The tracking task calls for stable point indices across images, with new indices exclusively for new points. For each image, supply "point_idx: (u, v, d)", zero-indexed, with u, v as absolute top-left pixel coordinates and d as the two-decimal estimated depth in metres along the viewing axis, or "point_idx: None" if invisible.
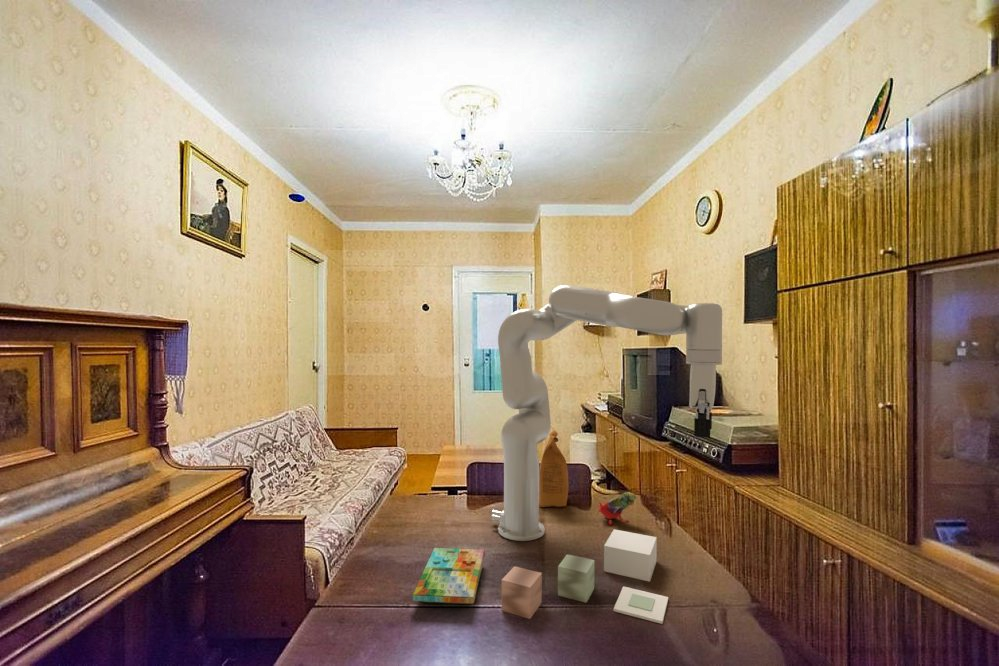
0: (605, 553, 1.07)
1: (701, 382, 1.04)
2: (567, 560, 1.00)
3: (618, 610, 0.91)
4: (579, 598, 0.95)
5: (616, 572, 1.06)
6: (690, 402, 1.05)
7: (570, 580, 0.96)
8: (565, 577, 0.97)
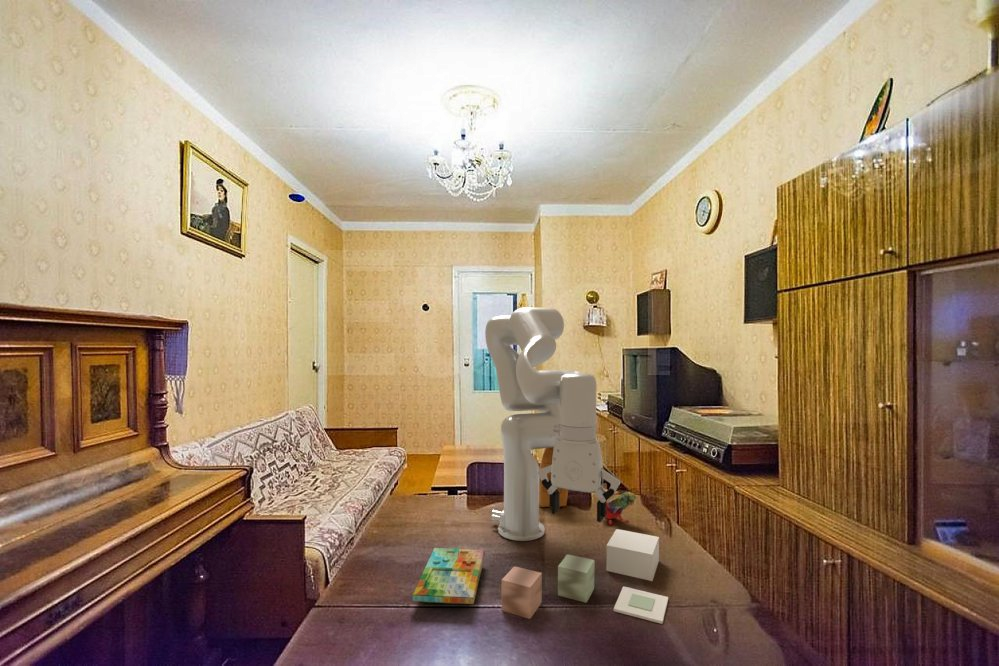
0: (608, 553, 1.07)
1: (601, 461, 0.96)
2: (567, 560, 1.00)
3: (618, 610, 0.91)
4: (579, 598, 0.95)
5: (619, 572, 1.06)
6: (597, 486, 0.94)
7: (570, 580, 0.96)
8: (565, 577, 0.97)
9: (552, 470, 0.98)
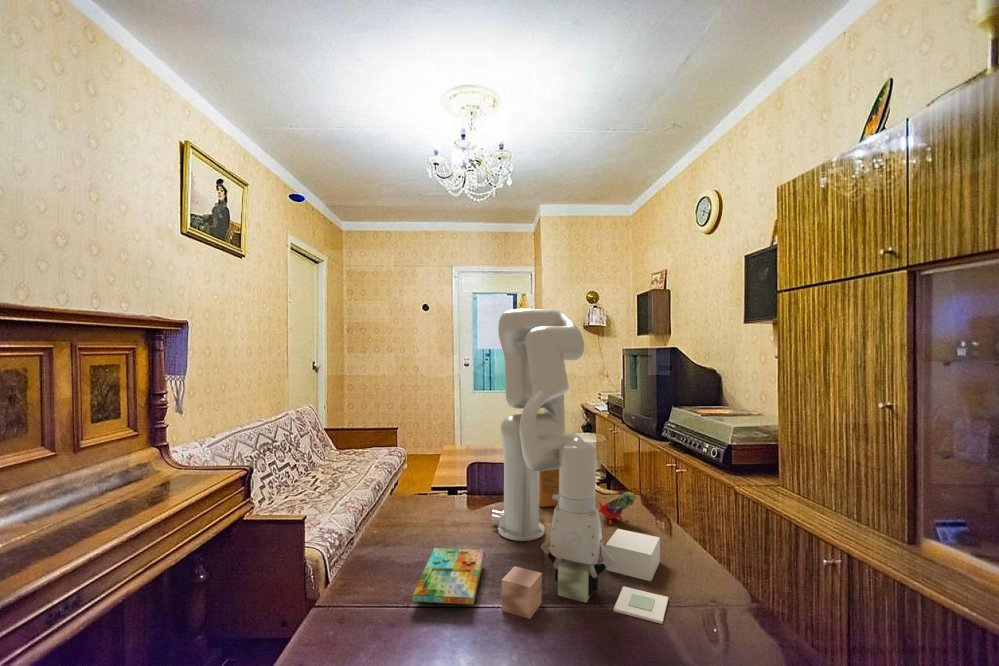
0: None
1: (600, 532, 0.96)
2: (567, 560, 1.00)
3: (618, 610, 0.91)
4: (579, 598, 0.95)
5: (618, 571, 1.06)
6: (596, 559, 0.94)
7: (570, 580, 0.96)
8: (565, 576, 0.97)
9: (551, 540, 0.98)
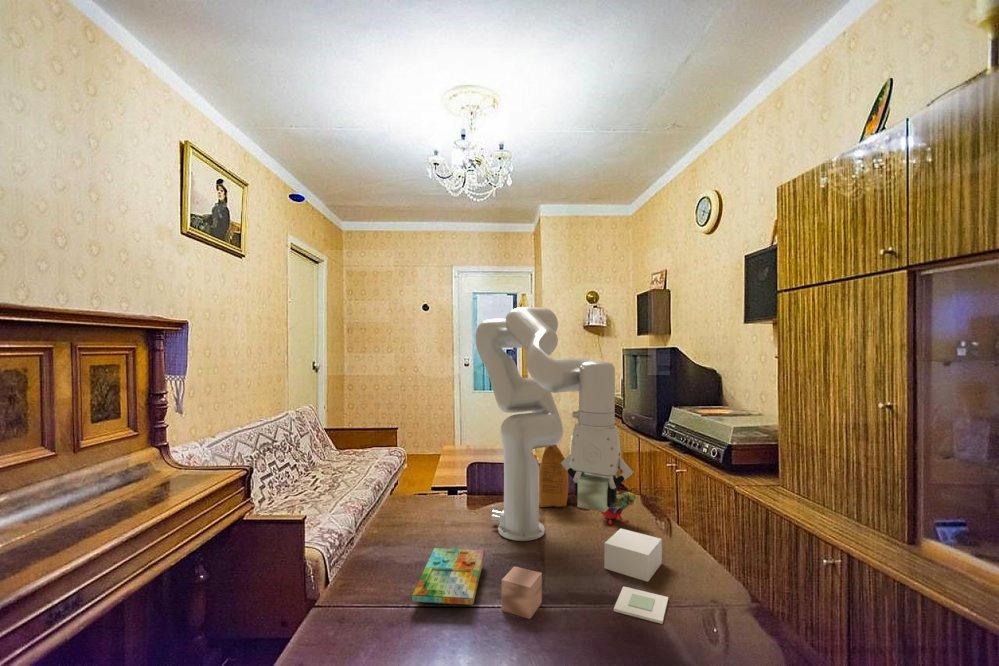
0: (605, 550, 1.08)
1: (618, 446, 1.00)
2: (587, 475, 1.03)
3: (618, 610, 0.91)
4: (598, 508, 0.99)
5: (616, 570, 1.07)
6: (615, 470, 0.98)
7: (589, 491, 1.00)
8: (584, 488, 1.00)
9: (571, 454, 1.02)
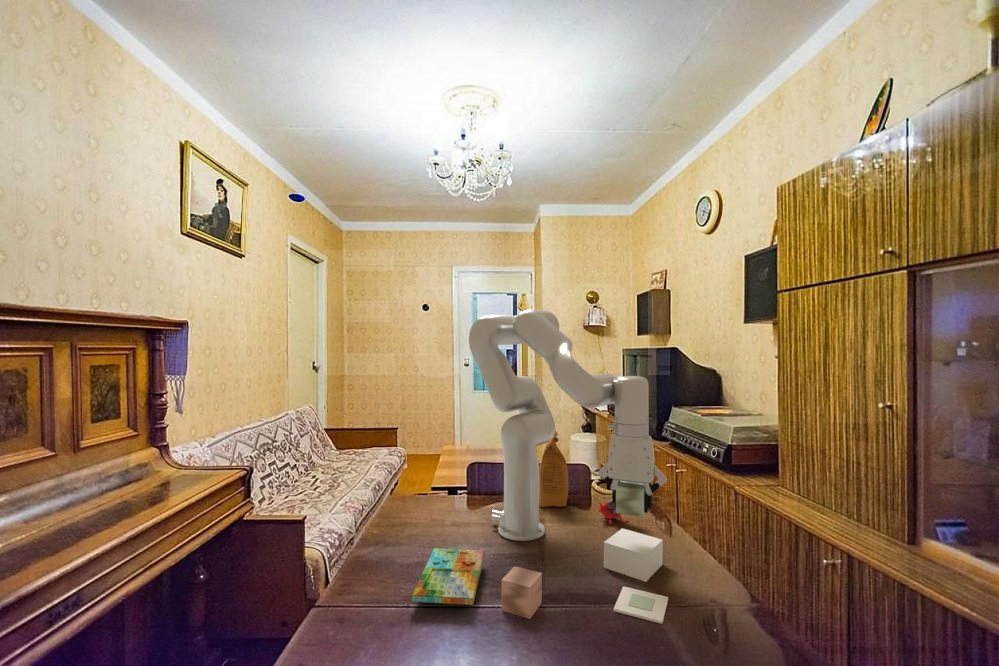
0: (605, 550, 1.09)
1: (653, 455, 1.07)
2: (623, 483, 1.10)
3: (618, 610, 0.91)
4: (636, 513, 1.06)
5: (615, 569, 1.07)
6: (651, 478, 1.05)
7: (627, 498, 1.07)
8: (622, 495, 1.07)
9: (609, 463, 1.09)
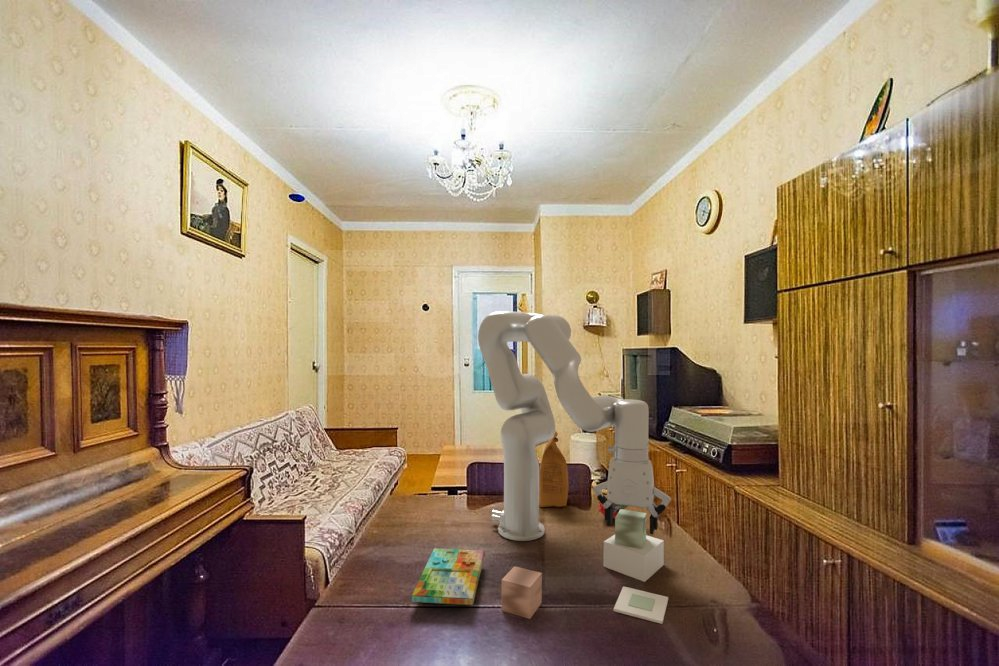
0: (604, 549, 1.09)
1: (653, 479, 1.07)
2: (622, 513, 1.11)
3: (618, 610, 0.91)
4: (635, 545, 1.06)
5: (614, 569, 1.07)
6: (650, 502, 1.05)
7: (627, 530, 1.07)
8: (621, 527, 1.07)
9: (608, 487, 1.09)
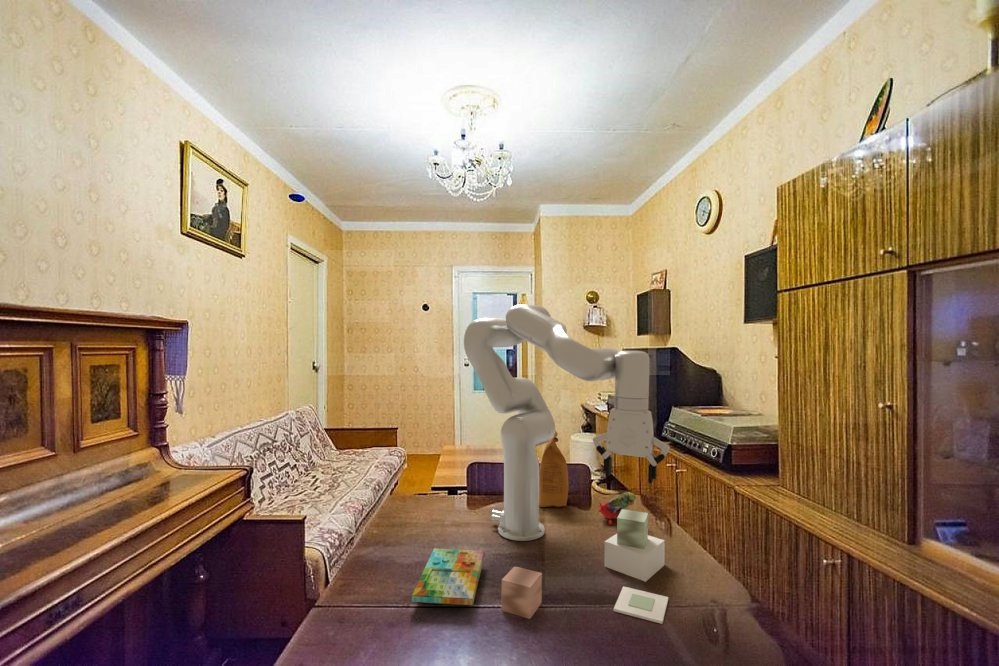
0: (605, 549, 1.09)
1: (652, 429, 1.07)
2: (624, 513, 1.10)
3: (618, 610, 0.91)
4: (637, 545, 1.06)
5: (615, 569, 1.08)
6: (649, 451, 1.05)
7: (629, 530, 1.07)
8: (623, 527, 1.07)
9: (607, 437, 1.09)
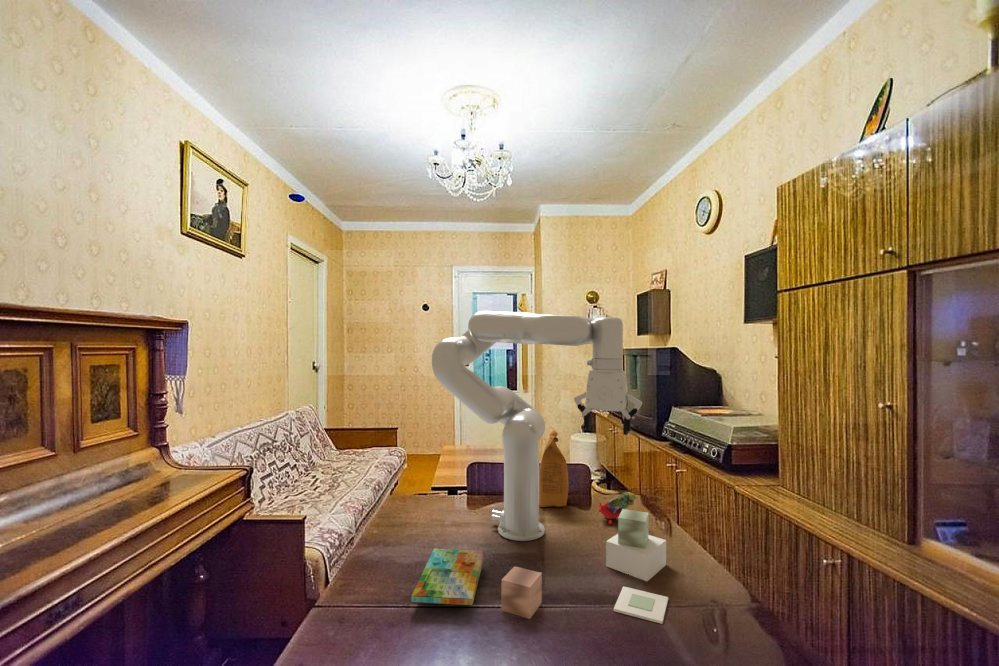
0: (607, 548, 1.09)
1: (626, 386, 1.20)
2: (625, 513, 1.11)
3: (618, 610, 0.91)
4: (638, 545, 1.06)
5: (617, 568, 1.08)
6: (624, 406, 1.18)
7: (630, 529, 1.07)
8: (625, 527, 1.07)
9: (586, 395, 1.22)
